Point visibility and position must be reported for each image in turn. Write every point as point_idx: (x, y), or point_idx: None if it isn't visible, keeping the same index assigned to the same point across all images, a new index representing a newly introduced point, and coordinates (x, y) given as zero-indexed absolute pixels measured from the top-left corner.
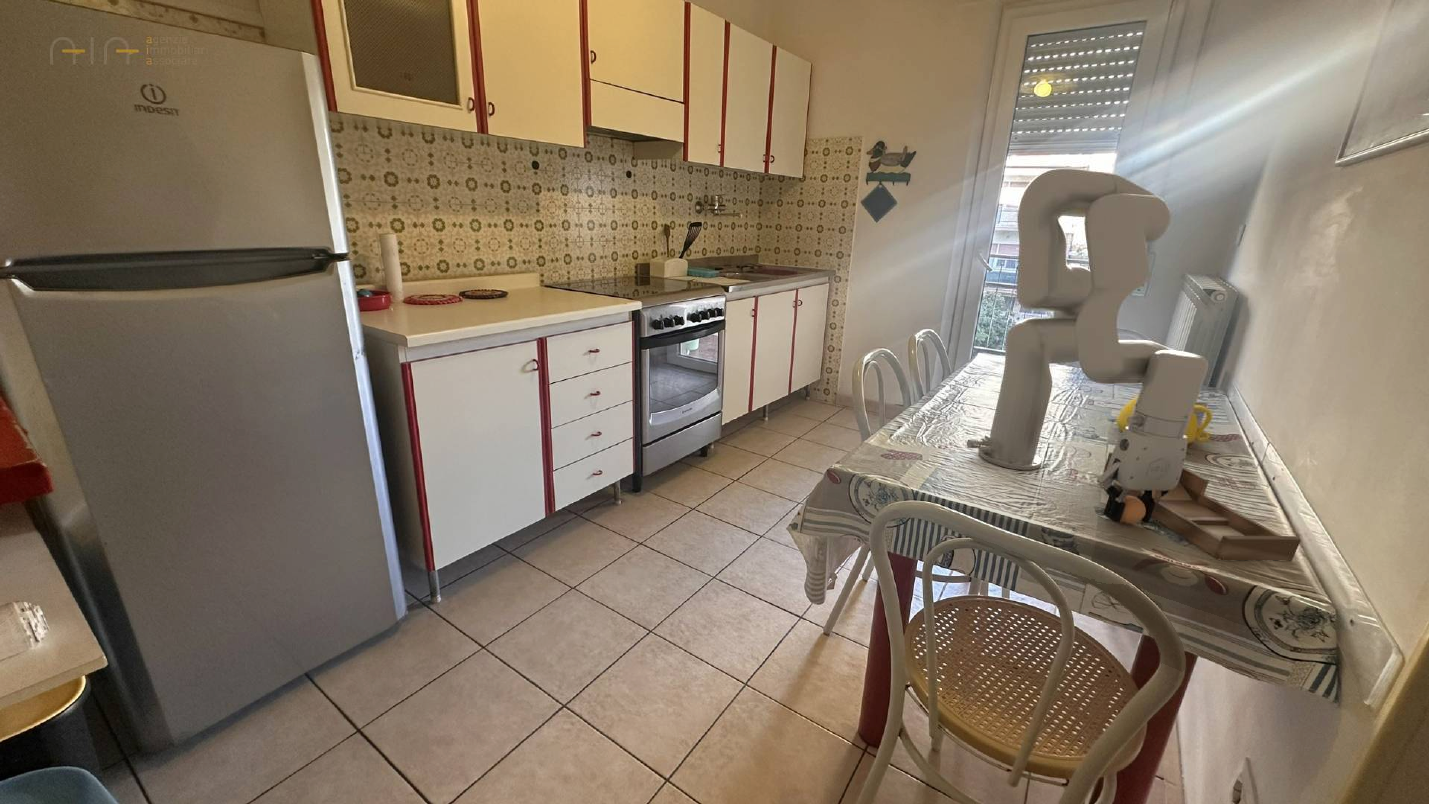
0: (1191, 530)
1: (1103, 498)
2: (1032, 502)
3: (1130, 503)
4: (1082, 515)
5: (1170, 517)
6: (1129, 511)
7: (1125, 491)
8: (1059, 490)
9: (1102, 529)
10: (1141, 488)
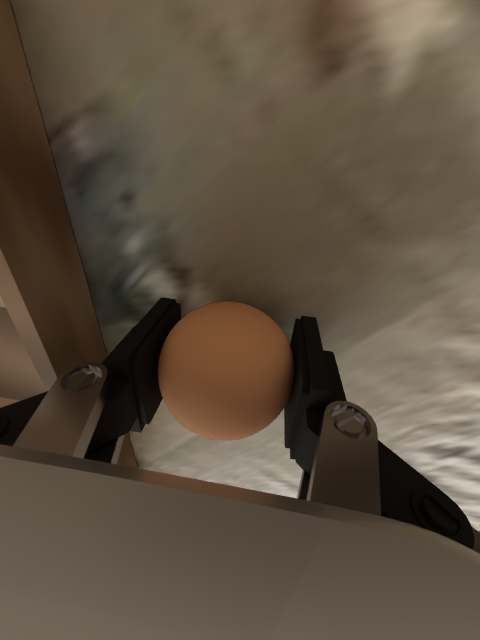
0: (4, 164)
1: (186, 434)
2: (463, 460)
3: (258, 386)
4: (368, 383)
5: (52, 297)
6: (276, 342)
7: (350, 488)
8: (286, 478)
9: (405, 293)
10: (301, 533)
